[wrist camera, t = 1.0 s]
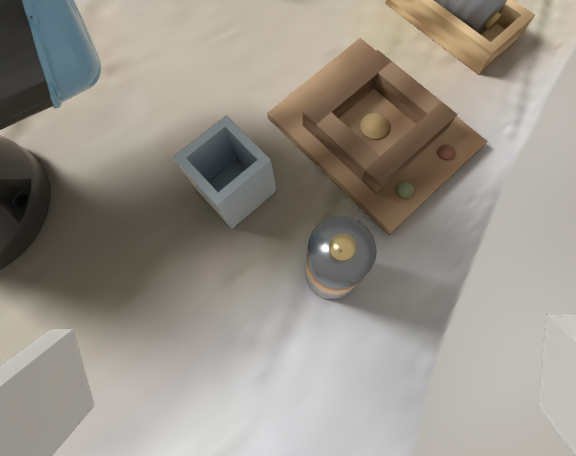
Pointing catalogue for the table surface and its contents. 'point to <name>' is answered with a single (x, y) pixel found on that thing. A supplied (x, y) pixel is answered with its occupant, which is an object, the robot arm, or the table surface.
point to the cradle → (376, 133)
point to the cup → (228, 171)
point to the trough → (468, 26)
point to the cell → (339, 256)
